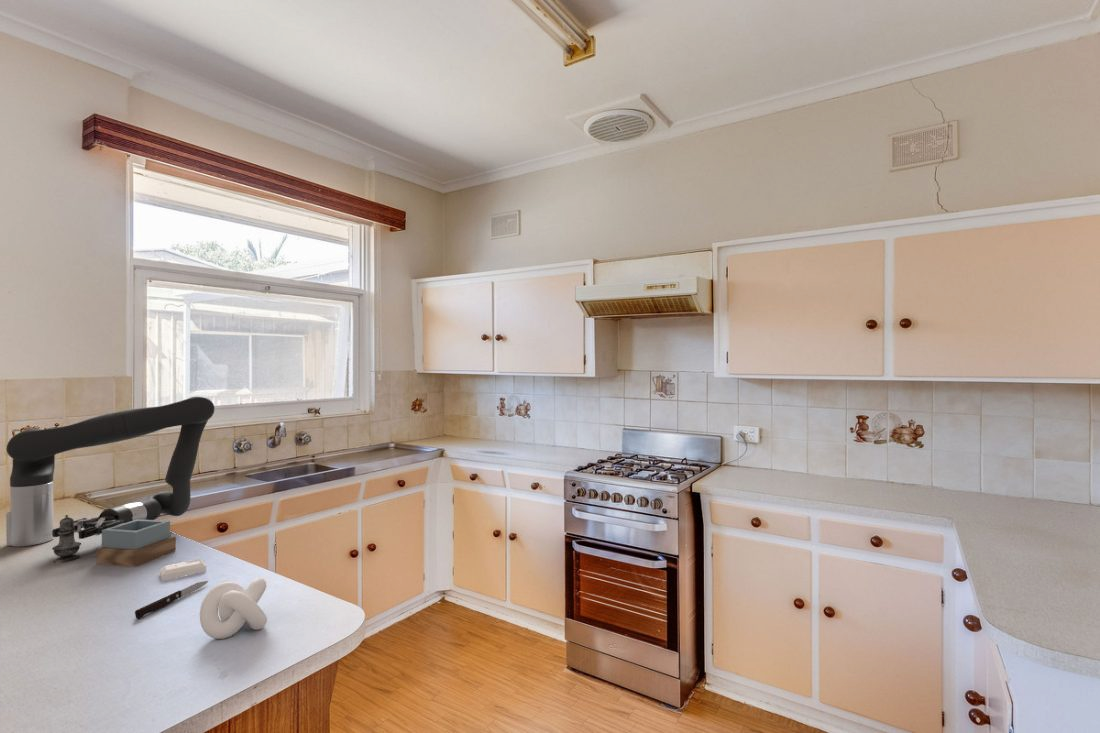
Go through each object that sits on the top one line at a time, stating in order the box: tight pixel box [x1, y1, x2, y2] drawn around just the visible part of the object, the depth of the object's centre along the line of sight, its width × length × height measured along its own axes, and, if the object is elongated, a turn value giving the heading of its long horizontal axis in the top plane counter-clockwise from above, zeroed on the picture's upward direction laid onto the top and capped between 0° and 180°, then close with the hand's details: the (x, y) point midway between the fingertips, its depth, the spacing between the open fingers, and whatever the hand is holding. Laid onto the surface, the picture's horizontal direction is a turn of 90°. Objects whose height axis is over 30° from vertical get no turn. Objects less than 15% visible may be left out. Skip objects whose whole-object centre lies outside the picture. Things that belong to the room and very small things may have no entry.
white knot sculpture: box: [199, 577, 268, 640], centre depth 107 cm, size 11×12×9 cm
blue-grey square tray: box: [101, 519, 171, 550], centre depth 147 cm, size 10×10×4 cm
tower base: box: [96, 535, 177, 568], centre depth 147 cm, size 12×12×4 cm
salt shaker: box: [51, 514, 82, 563], centre depth 145 cm, size 6×6×12 cm
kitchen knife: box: [134, 580, 209, 620], centre depth 119 cm, size 18×1×2 cm, turn 169°
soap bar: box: [159, 558, 207, 582], centre depth 135 cm, size 5×9×3 cm, turn 131°
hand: (66, 534), depth 145 cm, fingers open, 8 cm apart
